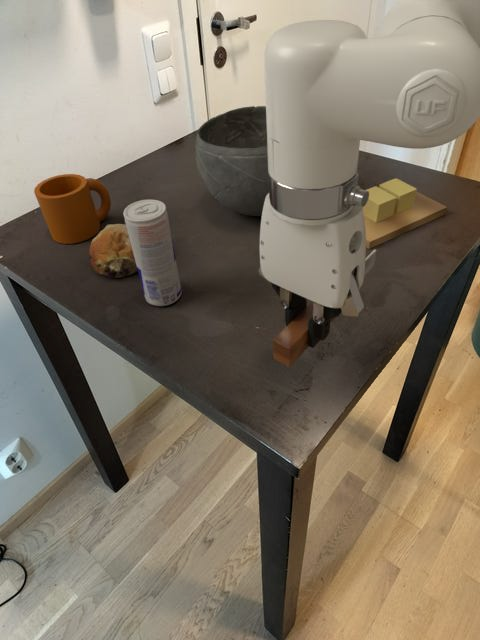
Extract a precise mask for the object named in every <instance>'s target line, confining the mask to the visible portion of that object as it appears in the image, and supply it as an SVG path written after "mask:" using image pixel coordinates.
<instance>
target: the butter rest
mask: <svg viewBox="0 0 480 640" xmlns="http://www.w3.org/2000/svg"><path fill="white" fill-rule="evenodd" d="M378 188H380V189H382V190H384V191H386V192H388V193H389V194H391V195H393V196H395V197H397V199H396V204H395V209H394V213H396V214H398V213H400V212H402V211H405V210H407V209H409V208H412V207H413V205H414V201H415V196H416V192H418V188H416V187H415V186H412V185H410V184H408V183H406V182H404V181H402V180H401V179H399V178H397V177H395V178H393V179H390V180H387V181H385V182H382V183H380V184H379V185H378Z"/></svg>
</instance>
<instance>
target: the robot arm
mask: <svg viewBox="0 0 480 640" xmlns="http://www.w3.org/2000/svg"><path fill="white" fill-rule="evenodd" d="M263 63H264V67H263V68H264V89H265V90H264V93H265V95H264V96H265V106H266V121H267V148H268V178H269V193H268V194H267V196H266V198H265V202H264V206H263V212H262V216H261V219H260V227H259V264H260V266H259V268H258V269H257V272H258V274H259V276H260V277H261V278H263V279H264V281H266V282H268V283H269V284H270V285H271V288H272V289H273V290H274V292H275V293H276V294H277V296H278V297H279V304H280V306H281V307H282V308H283V309H284V323H285V328H286V327H287V326H288V325H289V324H290V323H291V322H292V321H293V320H294V319H295V318H296V317H297V316H298V315H299V314H300V313H301V312H302V311H303V310H304V309H305V308H306V307H307V306H308V301H307V300H309V301H311V302H312V301H313V317H312V318H311V319H310V320H309V322H308V346H309V347H310V348H312V349H314V348H315V347H316V346H317V345H318V343H319V342H321V341H322V342H323V341H325V340H326V339H327V337H328V336H329V334H330V330H331V323H330V319H332V318H335V317H336V318H337V317H339V316H342V317H350V318H357V317H359V315H360V314H361V313H362V312H363V311H364V310H365V304H364V301H363V298H362V295H361V293H360V289H361V287H363V285H364V282H365V281H364V280H365V276H364V273H365V259H366V258H367V256H366V255H367V248H366V231H365V220H364V213H363V207H364V206H365V205H366V203H367V201H368V198H369V191H366V190H367V189H364V188H363V189H362V187H361V186H359V176H360V174H359V173H358V163H359V154H360V145H361V141H365V142H370V143H376V144H380V145H386V146H391V147H395V148H404V149H415V150H416V149H417V150H419V149H420V150H421V149H422V150H423V149H431V148H436V147H440V146H444V145H446V144H449V143H450V142H453V141H454V140H457V139H458V138H459V137H461V136H462V135H464V134H465V133H466V132H467V131H468V130H470V129H471V128H472V127H473V125H474V124H475V123H476V122H477V121H478V120H479V118H480V0H397V2H395V3H394V5H393V6H392V7H391V8H390V9H389V11H388V12H387V13H386V14H385V15H384V17H383V18H382V20H381V21H380V22H379V23H378V25H377V27H376V29H375V31H374V32H373V34H372V36H371V38H368V36H367V34H366V33H365V31H364V30H363V29H362V28H361V27H360V26H358V25H357V24H354V23H351V22H349V21H344V20H338V19H337V20H336V19H313V20H305V21H299V22H295V23H291V24H288V25H285V26H283V27H281V28H278V29H277V30H276V31H275V32H274V33H273V34H271V36H269V39H268V41H267V42H266V45H265V48H264V62H263ZM336 318H335V319H336Z"/></svg>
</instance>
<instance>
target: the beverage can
mask: <svg viewBox="0 0 480 640" xmlns="http://www.w3.org/2000/svg"><path fill="white" fill-rule="evenodd" d="M122 213H123V218H124V224H125V225H126V227H127V230H128V234H129V238H130V242H131V246H132V250H133V254H134V258H135V261H136V265H137V269H138V271H137V273H138V276H139V280H140V285H141V288H142V292H143V296H144V299H145V301H146V302H147V303H148V304H150V305H152V306H155V307H164V306H169V305H172V304H174V303H175V302H177V301H178V300H179V299H180V298H181V296H182V293H183V291H182V285H181V280H180V274H179V269H178V263H177V259H176V252H175V248H174V241H173V236H172V232H171V231H172V230H171V224H170V221H169V220H170V219H169V215H168V211H167V205H166V204H165V203H164V202H163V201H160V200H157V199H141V200H138V201H135V202H132V203H130V204H128V205H127V206H126V207H125V208H124V210H123V211H122Z"/></svg>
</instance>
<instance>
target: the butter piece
mask: <svg viewBox="0 0 480 640" xmlns="http://www.w3.org/2000/svg"><path fill="white" fill-rule="evenodd" d="M365 190H366V191H369V198H368V201H367V203H366V205H365V206H364V207H363V213H364V216H366V217H367V218H369V219H370V220H372V221H374V222H375V223H377V222H379V221H382V220H384V219H386V218H389V217H391V216H393V214H394V209H395V204H396V199H397V197H395V196H393V195H391V194H389V193H388V192H386V191H384V190H382V189H380V188H379V186H377V185H375V186H373V187H370V188H367V189H365Z"/></svg>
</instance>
